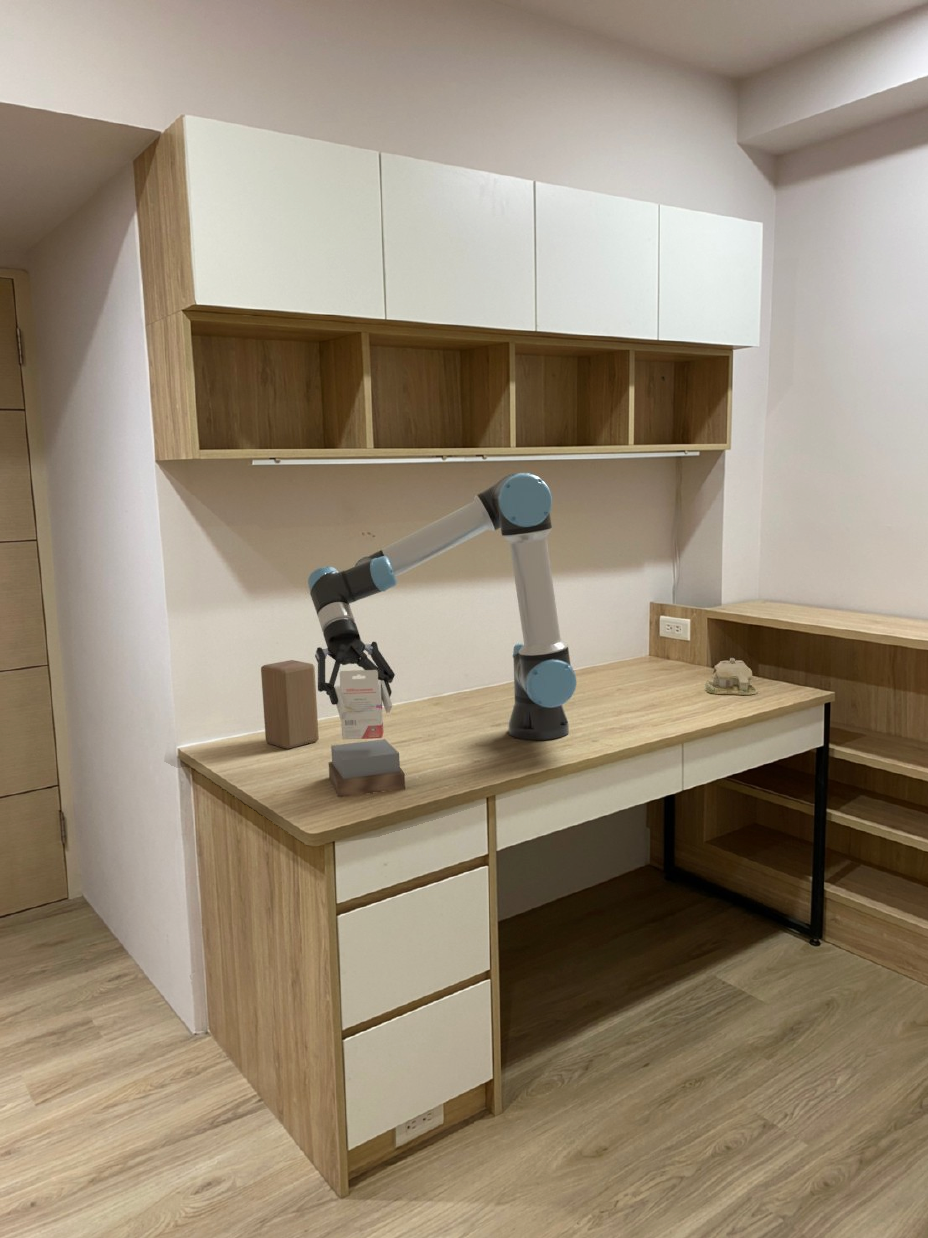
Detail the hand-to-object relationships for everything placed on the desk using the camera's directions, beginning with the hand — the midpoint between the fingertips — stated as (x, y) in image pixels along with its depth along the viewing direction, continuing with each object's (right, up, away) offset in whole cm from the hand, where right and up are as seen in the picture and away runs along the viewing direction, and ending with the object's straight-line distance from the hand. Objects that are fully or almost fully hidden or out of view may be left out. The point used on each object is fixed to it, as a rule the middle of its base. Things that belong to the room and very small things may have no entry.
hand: (366, 712), depth 195 cm
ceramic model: (+98, -2, +78) cm, 125 cm away
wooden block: (-23, -12, +39) cm, 47 cm away
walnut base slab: (-1, -16, +5) cm, 17 cm away
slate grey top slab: (-1, -12, +5) cm, 13 cm away
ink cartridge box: (-1, -6, +4) cm, 7 cm away
